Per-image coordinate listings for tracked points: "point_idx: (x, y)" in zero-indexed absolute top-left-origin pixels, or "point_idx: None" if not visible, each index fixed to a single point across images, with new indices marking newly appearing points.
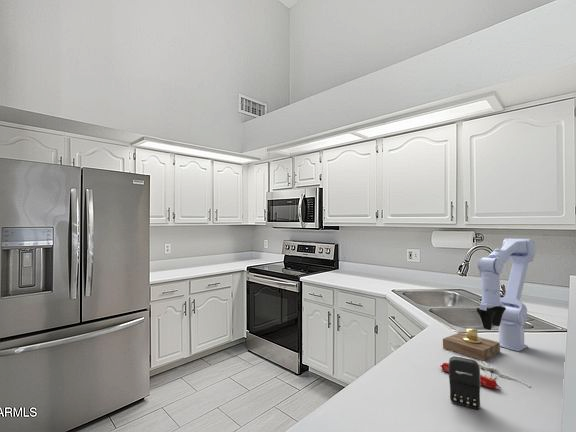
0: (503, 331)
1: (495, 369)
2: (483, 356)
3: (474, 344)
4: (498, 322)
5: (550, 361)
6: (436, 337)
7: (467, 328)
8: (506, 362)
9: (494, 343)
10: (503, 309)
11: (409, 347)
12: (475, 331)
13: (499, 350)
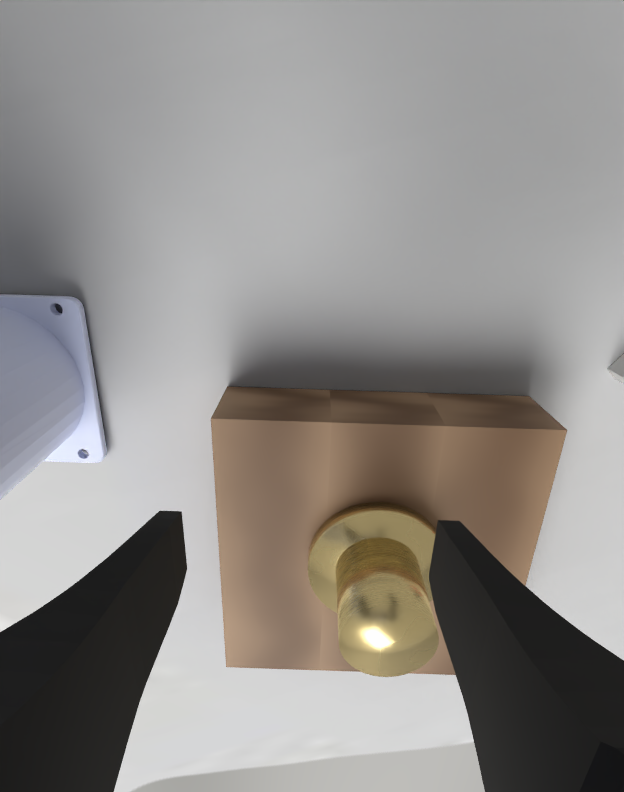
0: (8, 470)
1: None
2: (542, 410)
3: (457, 518)
4: (162, 550)
5: (64, 35)
6: (307, 702)
7: (395, 667)
8: (426, 285)
9: (285, 436)
10: (12, 723)
11: None
12: (412, 602)
13: (237, 392)
